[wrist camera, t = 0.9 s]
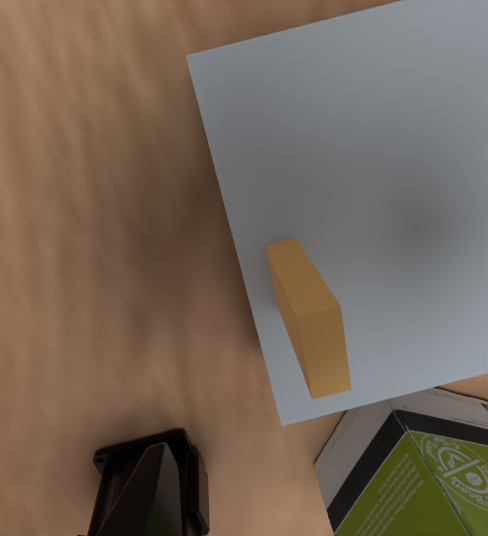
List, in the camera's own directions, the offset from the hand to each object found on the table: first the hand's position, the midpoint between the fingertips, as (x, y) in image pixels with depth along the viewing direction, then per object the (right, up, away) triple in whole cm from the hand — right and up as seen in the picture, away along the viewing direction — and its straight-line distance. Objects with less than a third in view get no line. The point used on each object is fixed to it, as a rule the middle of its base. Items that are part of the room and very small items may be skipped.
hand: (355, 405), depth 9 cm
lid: (+5, +5, +7) cm, 10 cm away
